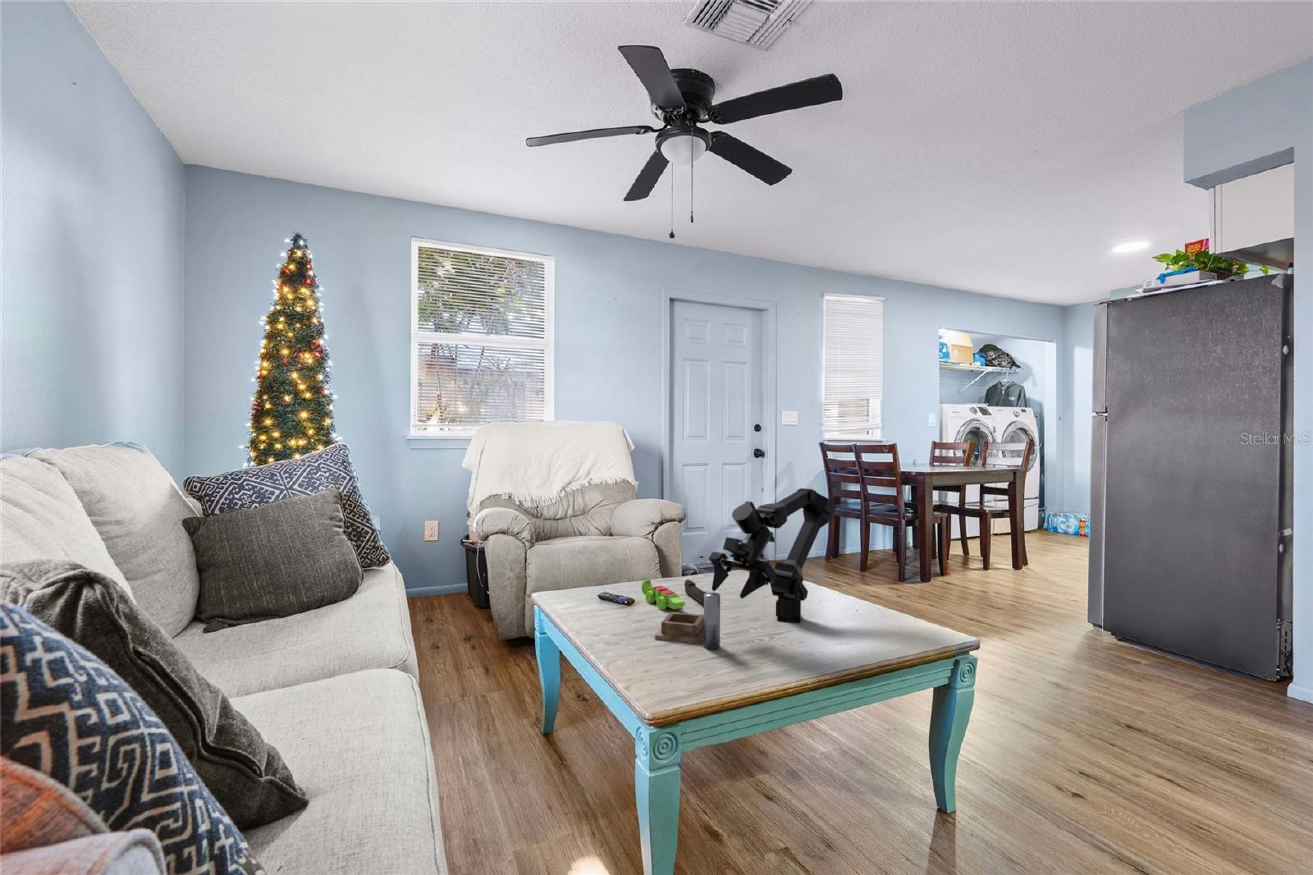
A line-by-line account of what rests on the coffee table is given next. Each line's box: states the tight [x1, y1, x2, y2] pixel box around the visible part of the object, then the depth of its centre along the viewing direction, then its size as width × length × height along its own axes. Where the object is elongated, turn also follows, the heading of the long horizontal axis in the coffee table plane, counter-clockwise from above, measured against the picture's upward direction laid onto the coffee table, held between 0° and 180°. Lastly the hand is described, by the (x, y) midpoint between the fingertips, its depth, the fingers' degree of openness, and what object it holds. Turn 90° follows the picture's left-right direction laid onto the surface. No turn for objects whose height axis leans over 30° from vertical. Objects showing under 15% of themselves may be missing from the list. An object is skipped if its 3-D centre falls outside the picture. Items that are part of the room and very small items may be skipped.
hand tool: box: [684, 579, 707, 608], centre depth 190 cm, size 19×4×5 cm, turn 16°
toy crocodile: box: [641, 579, 686, 611], centre depth 184 cm, size 20×7×6 cm, turn 28°
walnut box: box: [654, 611, 704, 645], centre depth 157 cm, size 12×12×4 cm
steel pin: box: [703, 591, 721, 651], centre depth 147 cm, size 4×4×13 cm
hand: (726, 593), depth 151 cm, fingers open, 9 cm apart
